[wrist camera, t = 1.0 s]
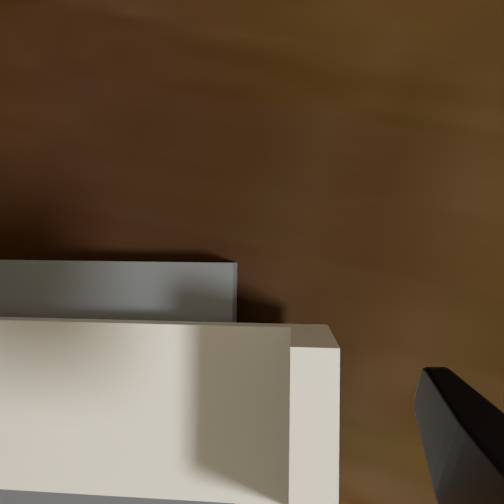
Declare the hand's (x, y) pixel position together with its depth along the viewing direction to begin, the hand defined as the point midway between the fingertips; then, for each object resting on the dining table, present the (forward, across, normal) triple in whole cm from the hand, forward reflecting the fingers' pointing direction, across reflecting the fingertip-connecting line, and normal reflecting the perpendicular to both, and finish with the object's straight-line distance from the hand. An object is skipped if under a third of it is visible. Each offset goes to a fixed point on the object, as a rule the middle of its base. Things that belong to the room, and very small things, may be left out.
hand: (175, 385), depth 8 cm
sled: (+8, +7, +9) cm, 14 cm away
